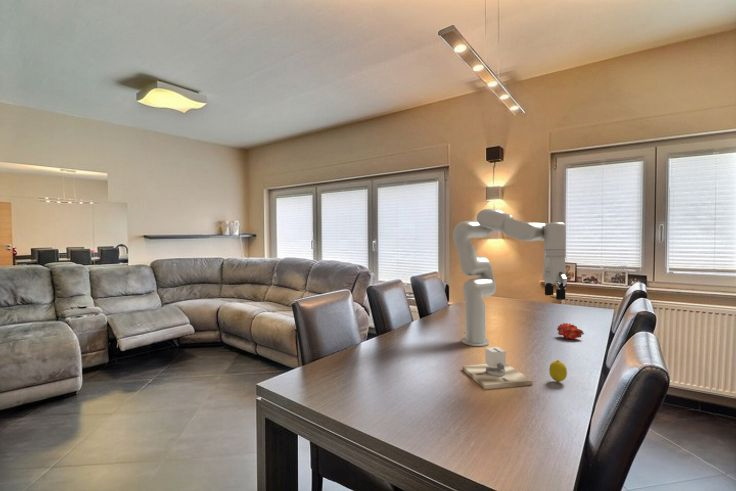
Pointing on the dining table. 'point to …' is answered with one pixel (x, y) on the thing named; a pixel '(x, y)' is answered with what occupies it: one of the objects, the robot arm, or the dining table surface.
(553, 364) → the lemon
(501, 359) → the white box
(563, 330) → the dragon fruit
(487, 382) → the base
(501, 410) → the dining table surface
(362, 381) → the dining table surface
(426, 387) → the dining table surface
